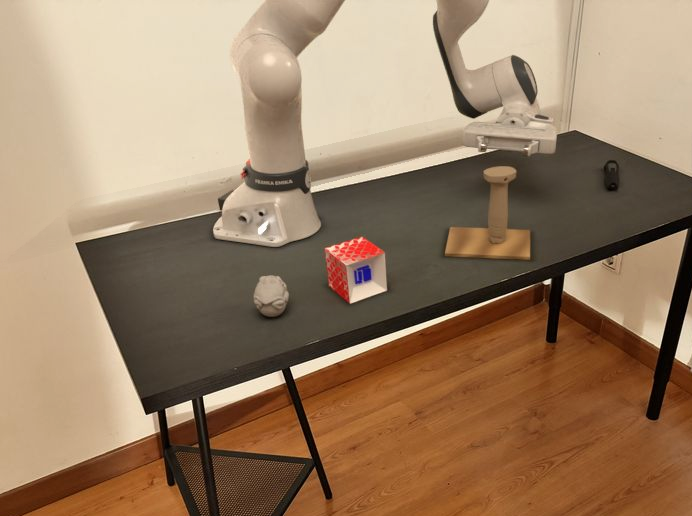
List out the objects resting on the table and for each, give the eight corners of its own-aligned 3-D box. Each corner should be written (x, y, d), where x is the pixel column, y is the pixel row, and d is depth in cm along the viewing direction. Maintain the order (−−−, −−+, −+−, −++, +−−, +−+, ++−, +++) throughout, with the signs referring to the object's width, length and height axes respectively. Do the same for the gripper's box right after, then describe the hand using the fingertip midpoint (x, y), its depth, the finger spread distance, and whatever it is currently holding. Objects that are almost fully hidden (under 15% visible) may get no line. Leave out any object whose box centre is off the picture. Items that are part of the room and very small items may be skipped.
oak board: (444, 256, 144) (444, 252, 144) (450, 230, 154) (450, 226, 154) (529, 260, 143) (530, 256, 143) (529, 233, 153) (530, 229, 152)
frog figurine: (295, 303, 130) (290, 269, 126) (286, 325, 124) (281, 290, 120) (261, 302, 130) (255, 268, 126) (251, 324, 124) (244, 289, 120)
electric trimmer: (603, 193, 171) (605, 181, 169) (603, 168, 183) (604, 156, 181) (619, 194, 170) (621, 182, 168) (618, 169, 182) (620, 157, 180)
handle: (516, 242, 147) (520, 172, 139) (488, 249, 145) (491, 178, 137) (505, 233, 151) (508, 164, 142) (477, 239, 149) (479, 169, 140)
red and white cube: (365, 273, 139) (362, 236, 134) (387, 290, 133) (384, 252, 129) (328, 286, 135) (324, 248, 130) (349, 304, 130) (345, 265, 125)
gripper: (469, 111, 160) (455, 131, 149) (561, 118, 156) (554, 139, 145) (468, 139, 164) (454, 160, 152) (558, 147, 160) (551, 169, 149)
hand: (504, 150), depth 149 cm, fingers open, 8 cm apart
